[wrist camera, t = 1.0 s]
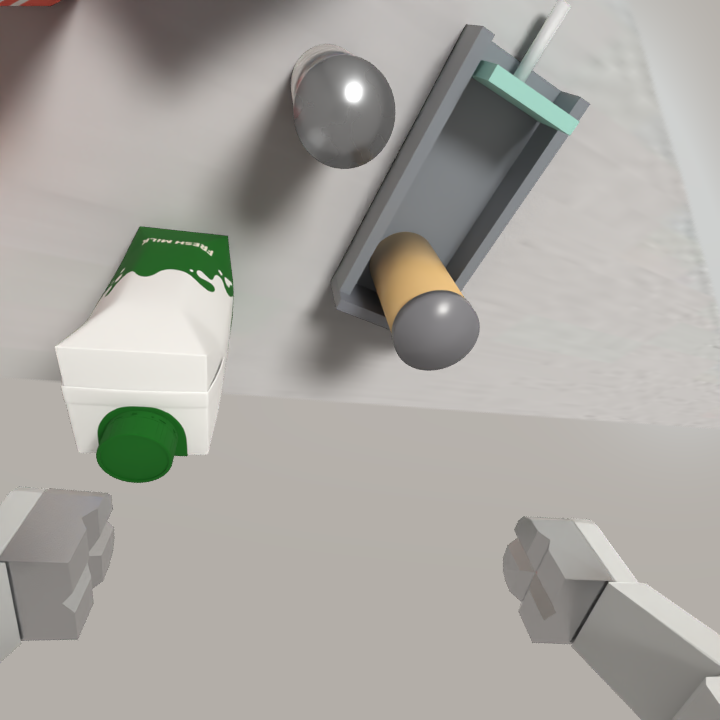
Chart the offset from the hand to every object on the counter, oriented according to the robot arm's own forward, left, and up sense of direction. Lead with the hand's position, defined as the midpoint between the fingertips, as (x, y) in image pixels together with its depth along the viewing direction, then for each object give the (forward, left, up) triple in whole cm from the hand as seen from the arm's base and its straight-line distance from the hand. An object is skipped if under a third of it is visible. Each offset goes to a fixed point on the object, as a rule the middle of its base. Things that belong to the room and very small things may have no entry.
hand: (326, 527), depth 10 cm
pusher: (-13, +13, -33) cm, 38 cm away
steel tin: (-5, +1, -34) cm, 34 cm away
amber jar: (+5, +13, -34) cm, 36 cm away
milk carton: (+13, -4, -34) cm, 37 cm away
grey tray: (-2, +13, -34) cm, 37 cm away
